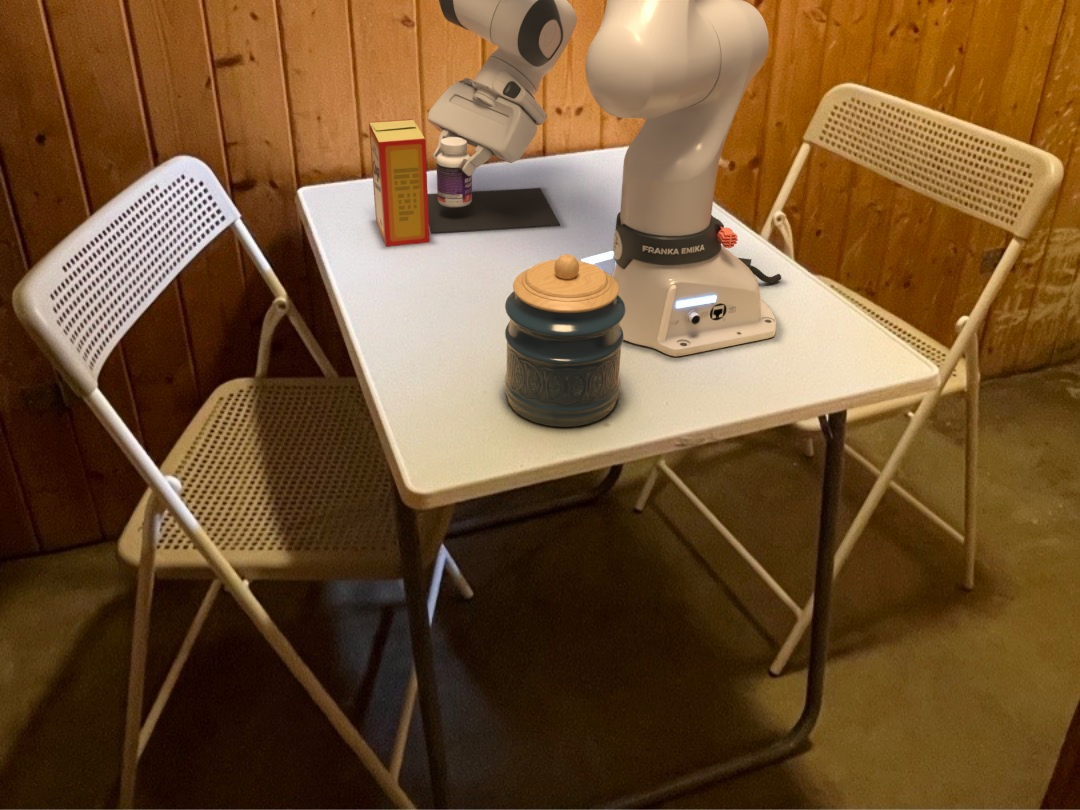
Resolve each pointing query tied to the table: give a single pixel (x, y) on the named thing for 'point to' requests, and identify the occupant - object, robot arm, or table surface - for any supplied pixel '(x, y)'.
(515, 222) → the rubber mat
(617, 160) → the table surface
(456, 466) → the table surface
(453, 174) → the pill bottle
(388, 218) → the baking soda box
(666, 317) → the robot arm
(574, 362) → the canister
